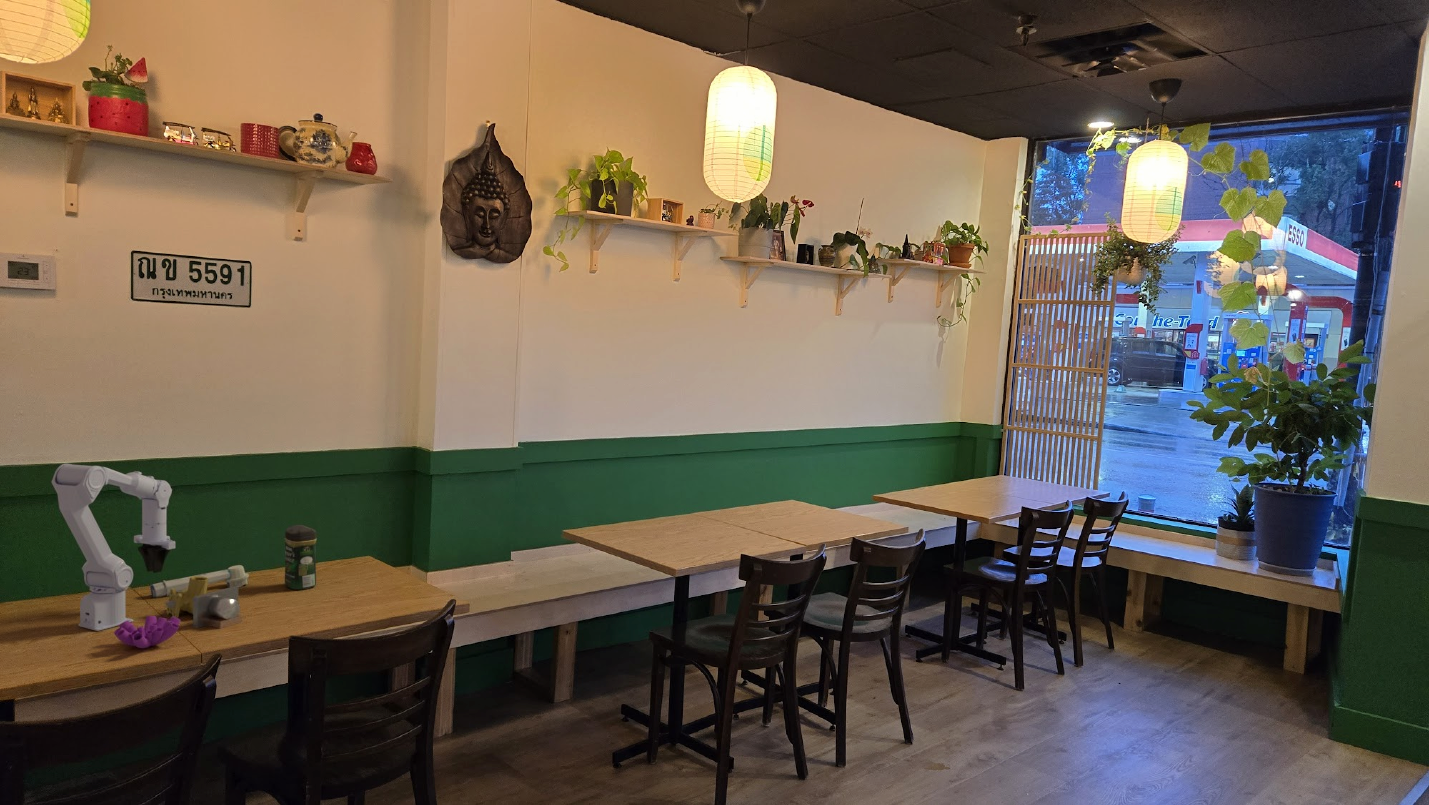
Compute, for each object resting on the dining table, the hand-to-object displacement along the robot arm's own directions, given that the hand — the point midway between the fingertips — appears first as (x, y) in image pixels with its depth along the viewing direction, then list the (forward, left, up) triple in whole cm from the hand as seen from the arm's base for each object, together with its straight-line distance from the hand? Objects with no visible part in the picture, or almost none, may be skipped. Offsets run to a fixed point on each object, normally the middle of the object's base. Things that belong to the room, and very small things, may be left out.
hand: (154, 571), depth 255 cm
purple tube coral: (-20, -27, -10) cm, 35 cm away
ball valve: (0, -13, -10) cm, 17 cm away
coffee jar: (+35, -16, -10) cm, 40 cm away
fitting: (0, -27, -10) cm, 29 cm away
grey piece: (+17, +4, -10) cm, 20 cm away
